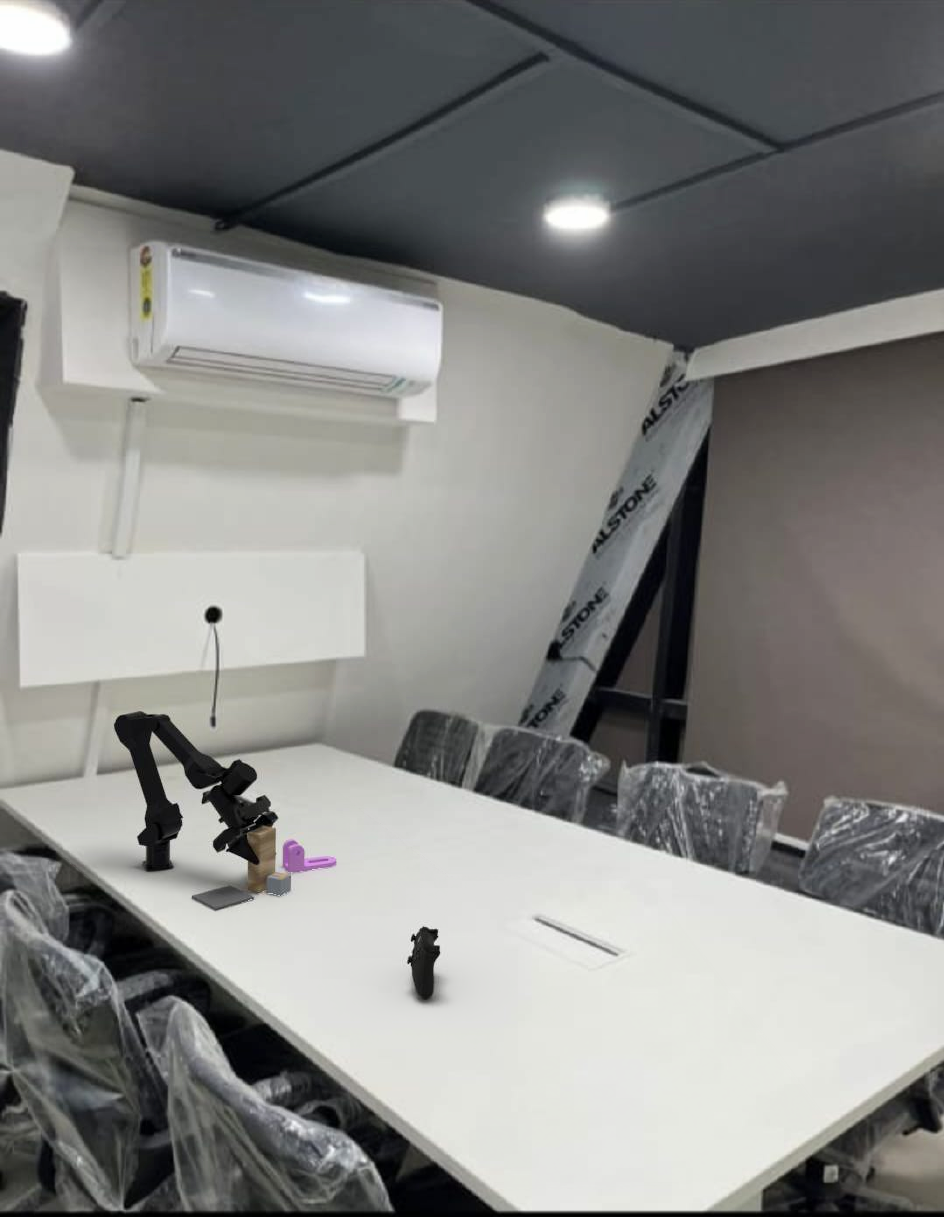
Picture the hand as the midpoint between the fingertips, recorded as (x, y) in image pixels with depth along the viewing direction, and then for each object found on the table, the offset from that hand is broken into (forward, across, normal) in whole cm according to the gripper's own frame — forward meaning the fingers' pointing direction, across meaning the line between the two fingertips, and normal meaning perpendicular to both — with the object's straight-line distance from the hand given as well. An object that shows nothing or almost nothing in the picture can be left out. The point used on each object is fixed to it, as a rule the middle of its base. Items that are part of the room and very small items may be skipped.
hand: (266, 859), depth 233 cm
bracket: (+6, +18, +5) cm, 20 cm away
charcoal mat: (+2, -10, +8) cm, 13 cm away
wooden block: (+4, 0, +6) cm, 7 cm away
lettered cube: (+8, 0, +3) cm, 8 cm away
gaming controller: (+44, -26, -34) cm, 61 cm away
